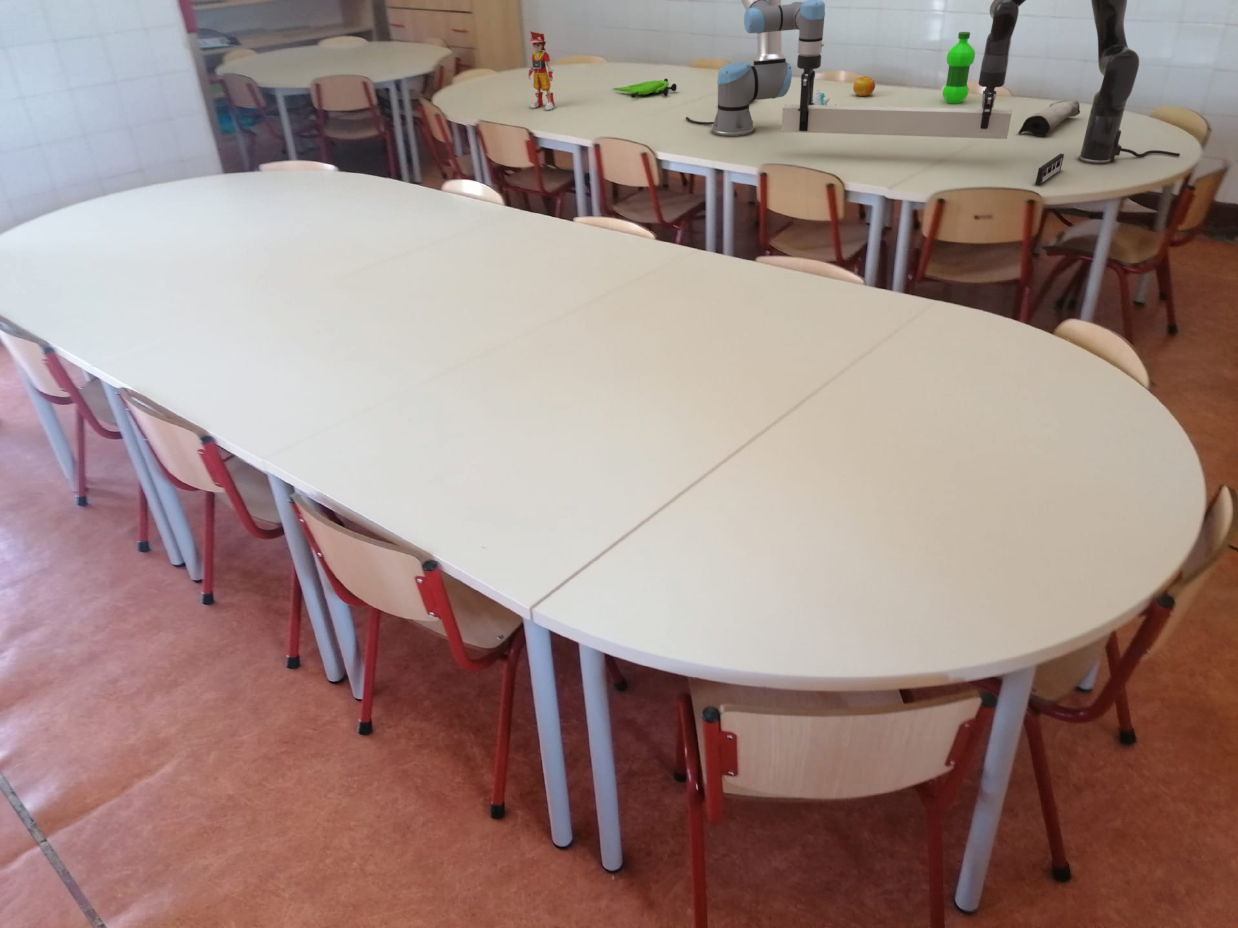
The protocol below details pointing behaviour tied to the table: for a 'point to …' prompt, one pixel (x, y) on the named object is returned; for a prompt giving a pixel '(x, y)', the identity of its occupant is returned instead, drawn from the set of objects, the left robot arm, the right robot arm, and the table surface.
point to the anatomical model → (820, 99)
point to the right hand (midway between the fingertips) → (983, 126)
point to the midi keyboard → (1049, 169)
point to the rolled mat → (1050, 117)
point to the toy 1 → (541, 71)
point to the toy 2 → (648, 88)
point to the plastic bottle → (958, 69)
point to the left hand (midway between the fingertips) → (804, 128)
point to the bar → (898, 121)
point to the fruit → (864, 86)
